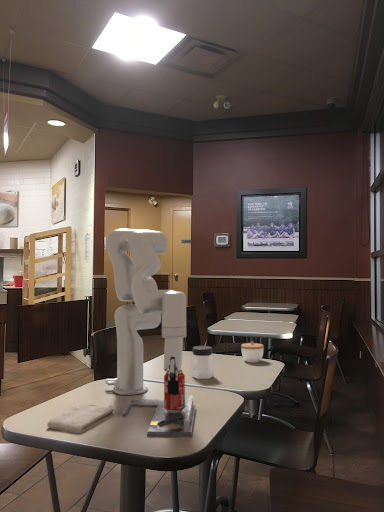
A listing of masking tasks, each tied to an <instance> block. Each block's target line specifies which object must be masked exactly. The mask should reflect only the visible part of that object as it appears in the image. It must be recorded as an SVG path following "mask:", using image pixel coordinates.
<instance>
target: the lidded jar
mask: <svg viewBox="0 0 384 512" xmlns="http://www.w3.org/2000/svg"><path fill="white" fill-rule="evenodd" d="M264 347H265V345H264V344H262V343H257V342H254V341H251V342H248V343H247V342H246V343H242V344H241V345H240V349H241V354H242V355H241V356H242V357H243V359H244V360H245V362H247V363H253V364H254V363H259V362H260V361H261V359H262V358H263V355H264Z"/></svg>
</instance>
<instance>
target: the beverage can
mask: <svg viewBox="0 0 384 512" xmlns="http://www.w3.org/2000/svg"><path fill="white" fill-rule="evenodd" d="M174 370H177V369H174ZM168 374H169V369H168V370H166V371H165V374H164V376H163V383H164V385H163V388H164V389H163V390H164V391H163V395H164V396H163V400H164V408H165V409H166V410H167V411H168V412H170V413H179V412H181V411H182V410H183V409H184V408H185V405H186V381H185V380H186V379H185V378H186V376H185V373H183V370H182V369H180V370H179V371H178V381H179V394H168ZM175 374H176V373H175Z"/></svg>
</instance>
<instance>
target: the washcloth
mask: <svg viewBox="0 0 384 512" xmlns="http://www.w3.org/2000/svg"><path fill="white" fill-rule="evenodd" d="M114 411H115V409H114V408H113V407H109V406H108V407H107V406H98V405H96V404H86V403H83V404H81V405H80V406H74V407H71V408H69V410H67V411H64V412H62V413H61V412H60V413H59V414H58V415H56V416H54V417H52V418H50V420H48V422H47V428H49V429H50V430H51V429H52V430H57V431H65V432H69V433H76V434H82V433H84V432H86V431H87V430H90V429H91V428H93V427H95V426H96V425H98V424H100V423H101V422H103V421H105V420H107V419H108V418H110V417H113V416H115V413H114Z"/></svg>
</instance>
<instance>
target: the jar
mask: <svg viewBox="0 0 384 512" xmlns="http://www.w3.org/2000/svg"><path fill="white" fill-rule="evenodd" d="M191 377H192V378H194V379H197V380H209V379H211V378H212V377H214V353H213V347H212V346H209V345H197V346H192V353H191Z"/></svg>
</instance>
